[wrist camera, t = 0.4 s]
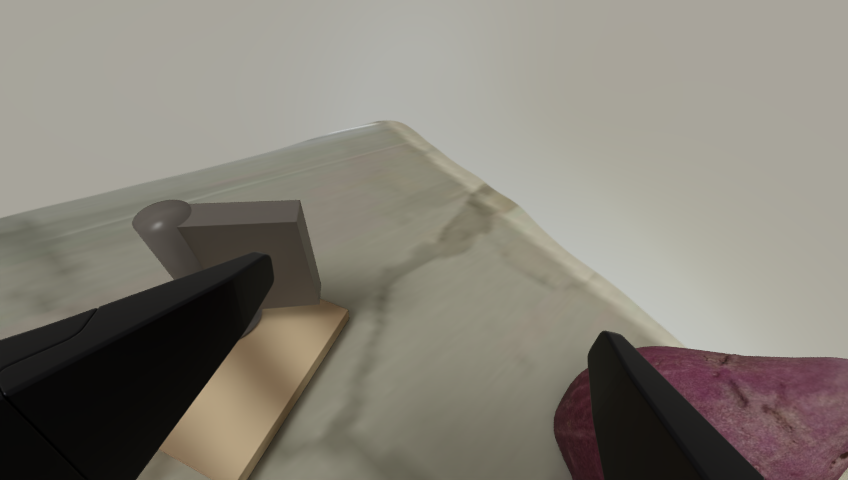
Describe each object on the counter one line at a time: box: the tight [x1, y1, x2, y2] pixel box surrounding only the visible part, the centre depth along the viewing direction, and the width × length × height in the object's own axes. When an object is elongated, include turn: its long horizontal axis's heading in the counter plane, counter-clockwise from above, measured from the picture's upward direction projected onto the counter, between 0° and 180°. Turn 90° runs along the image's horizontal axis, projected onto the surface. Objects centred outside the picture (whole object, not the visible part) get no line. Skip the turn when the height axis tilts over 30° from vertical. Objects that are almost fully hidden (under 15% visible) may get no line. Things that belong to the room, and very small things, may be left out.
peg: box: [132, 200, 321, 310], centre depth 22 cm, size 6×8×10 cm
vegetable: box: [554, 346, 848, 480], centre depth 17 cm, size 10×10×15 cm
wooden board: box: [159, 299, 349, 480], centre depth 23 cm, size 12×13×2 cm
